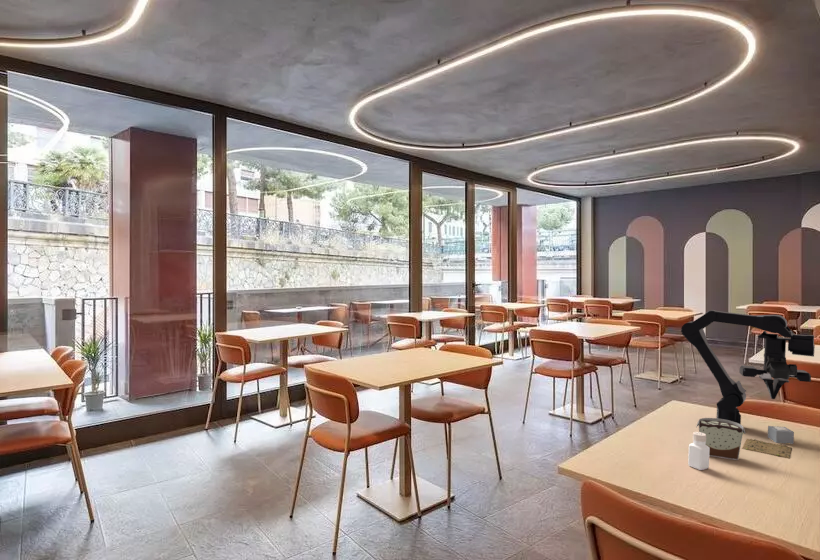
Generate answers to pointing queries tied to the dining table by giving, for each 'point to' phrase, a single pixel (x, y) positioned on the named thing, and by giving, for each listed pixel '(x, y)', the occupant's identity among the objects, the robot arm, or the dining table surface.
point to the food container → (722, 437)
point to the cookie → (767, 448)
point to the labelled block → (780, 434)
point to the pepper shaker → (698, 452)
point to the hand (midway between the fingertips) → (772, 398)
